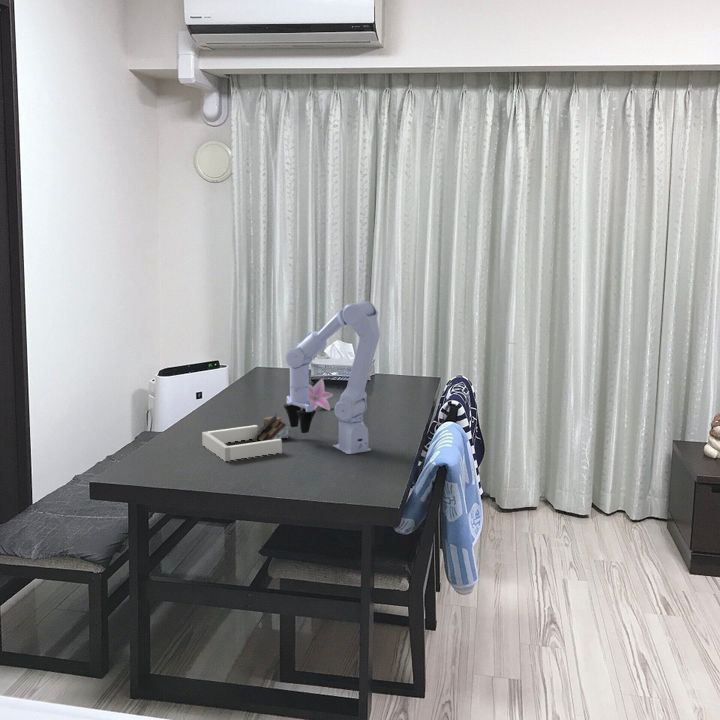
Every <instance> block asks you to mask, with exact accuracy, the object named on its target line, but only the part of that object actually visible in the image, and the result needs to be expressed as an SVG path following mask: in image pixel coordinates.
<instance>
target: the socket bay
mask: <svg viewBox="0 0 720 720" xmlns="http://www.w3.org/2000/svg"><path fill="white" fill-rule="evenodd" d="M258 431H259V426H258V425H257V424H253V425H248V426H238V427H231V428H226V429H225V428H224V429H223V428H222V429H216V430H208V431H202V432H201V435H202V436H201V438H202V439H201V441H202V443H201V445H202V446H203V447H204V446H205V448H206V450H208V449H209V450H208V451H210V452H211V453H212V454H214V453H215V454H216V455H215V454H214V455H215V456H217V457H218V456H219V457H220V458H219V457H218V458H219V459H221V460H222V459H223V460H224V461H223V460H222V461H223V462H225V461H228V462H231V461H230V460H234V461H236V460H235V459H241V458H247V459H249V458H248V457H254V458H256V457H255V456H260V457H263V456H262V455H267V456H269V455H268V454H273V455H277V454H276V453H279V454H283V439H274V440H267V441H255V442H248V443H247V442H246V443H241V444H235V445H234V444H233V445H227V444H229V443H228V442H231V443H236V442H235V441H238V442H242V441H241V440H245V441H250V440H249V439H252V440H253V437H254V435H255V433H257V432H258ZM241 460H242V459H241Z"/></svg>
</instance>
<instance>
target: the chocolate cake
mask: <svg viewBox="0 0 720 720" xmlns="http://www.w3.org/2000/svg"><path fill="white" fill-rule="evenodd" d="M272 416H273V417H272V418H271V419H270V420H269V421H268V422H267V423H266V424H265V425H264V424H263V425H262V427H261V428H260V429H258V432H257V433H255V435H254V437H253V439H252V441H255V442H260V441H267V440H274V439H281V440H283V439H285V438H287V439H289V433H290V432H289V431H290V430H289V429H290V428H289V425H288V424H287V423H285V422H283V421H282V420H281V421H279V420H277V417H278V416H277V413H275V414H273V415H272ZM282 438H283V439H282ZM258 440H260V441H258Z"/></svg>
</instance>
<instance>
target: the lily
mask: <svg viewBox="0 0 720 720" xmlns="http://www.w3.org/2000/svg"><path fill="white" fill-rule="evenodd" d="M332 396H334V395H333V393H331V392H328V391H325V382H324V379H323V378H321V379H319V380H318V381H317V382H316V383H315V384H314V386H313V385H311V384H309V401H310V403H311V404H312V405H313V410H315V411H316V409H317V408H318V406H319V407H321V408H323V409H325V410H327V411H331V406H330V404H329V401H328V399H329V398H331V397H332Z"/></svg>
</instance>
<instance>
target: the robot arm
mask: <svg viewBox="0 0 720 720" xmlns="http://www.w3.org/2000/svg"><path fill="white" fill-rule="evenodd" d="M378 315H379V312H378V310H377V308H376V307H375V305H374V304H373V303H372V302H371V301H368V300H362V301H360V302H355V303H347V304H346V305H345V306H344V307H343V308H342V309H340V310H338V312H337V313H336V314H335V315H334V316H333V317H332V318H331V319H330V320H329V321H328V322H327V323H326V324H325V325H324V326H323V327H322V328H321V329H320V330H319V331H309V332H308V333H307V334H306V337H305V338H304V339H303V340H302V341H301V342H298V343H297V344H296V347H295V348H290V349H289V350H288V351H287V353H286V355H285V361H286V363H287V365H288V366H289V395H287V396H286V404H283V408H284V409H285V411H286V414H287V416H288V421H289V426H290V427H291V428H296V427H297V428H298V427H299V424H300V431H301V432H300V433H302V434H305V433H306V434H307V433H309V432H310V428H311V424H312V420H313V418H314V416H315V414H316V409H315V410H313V405H312V404H311V403H310V401H309V385H310V383H309V381H310V379H309V378H310V377H309V376H310V374H309V373H310V372H309V371H310V364H311V363H312V361H313V358H314V357H315V356H316V355H317V354H318V353H320V352H321V351H322V350H323V349H324V348H325V347H326V346H327V340H329V338H331V336H333V335H334V334H336V333H337V332H338V331H339V330H341V328H343V327H344V326H347V325H348V326H349V328H351V329H352V330H353V331H354V332H355V333H356V334H357V336H358V337H359V340H358V345H357V347H356V352H355V353H354V354H355V355H354V358H353V362H352V366H351V371H350V374H349V378H348V381H347V386H346V388H345V389H344V391H343V392H342V393H341V395H340V397H339V400H338V401H337V402H336V404H335V405H334V414H335V417H336V418H337V419H338V420H337V421H338V443H337V444H333V445H332V447H333V448H335V449H337V450H339V451H341V452H343V453H344V454H346V455H352V454H358V453H364V452H371V451H372V448H370V447H369V429H368V427H367V426H366V424H365V423H364V413H365V412H366V411H367V408H368V403H367V397H368V394H367V392H366V391H365V389H366V386H367V384H368V383H367V382H368V379H369V375H370V372H371V368H372V365H373V361H374V357H375V353H376V350H377V346H378V343H379V340H380V333H381V332H380V329H379V328H380V327H379V322H378Z"/></svg>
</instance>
